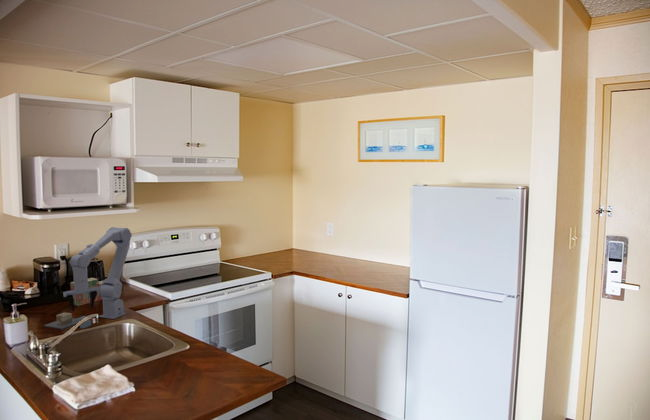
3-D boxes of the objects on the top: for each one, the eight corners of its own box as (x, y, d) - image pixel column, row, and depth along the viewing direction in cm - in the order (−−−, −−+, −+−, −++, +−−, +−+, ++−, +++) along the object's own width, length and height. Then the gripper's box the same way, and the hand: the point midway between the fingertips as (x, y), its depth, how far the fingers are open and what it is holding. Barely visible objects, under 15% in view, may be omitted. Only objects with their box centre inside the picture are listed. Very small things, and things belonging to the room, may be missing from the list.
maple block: (72, 321, 219) (71, 313, 219) (63, 324, 215) (63, 316, 215) (65, 320, 221) (65, 312, 221) (56, 323, 217) (56, 315, 216)
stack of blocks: (109, 295, 266) (108, 274, 265) (115, 296, 263) (114, 275, 261) (71, 304, 249) (69, 282, 248) (77, 306, 246) (75, 283, 244)
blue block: (91, 325, 216) (90, 317, 216) (83, 328, 212) (82, 320, 212) (84, 324, 218) (83, 316, 217) (75, 327, 214) (75, 319, 213)
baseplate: (85, 321, 221) (85, 320, 221) (62, 329, 210) (62, 328, 210) (67, 318, 226) (67, 317, 226) (44, 326, 215) (44, 325, 215)
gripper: (96, 276, 220) (97, 304, 222) (61, 281, 211) (63, 310, 213) (99, 279, 215) (101, 307, 216) (64, 284, 206) (65, 314, 207)
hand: (82, 309), depth 214 cm, fingers open, 7 cm apart
